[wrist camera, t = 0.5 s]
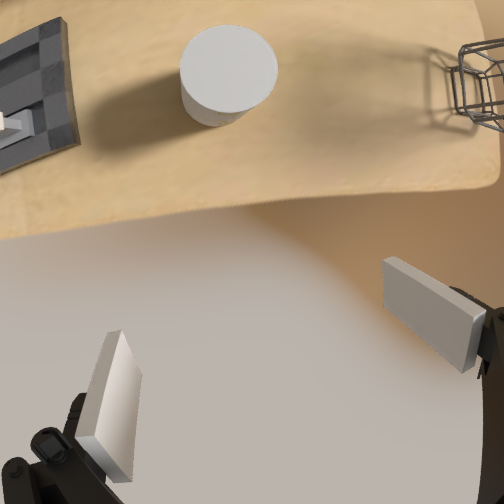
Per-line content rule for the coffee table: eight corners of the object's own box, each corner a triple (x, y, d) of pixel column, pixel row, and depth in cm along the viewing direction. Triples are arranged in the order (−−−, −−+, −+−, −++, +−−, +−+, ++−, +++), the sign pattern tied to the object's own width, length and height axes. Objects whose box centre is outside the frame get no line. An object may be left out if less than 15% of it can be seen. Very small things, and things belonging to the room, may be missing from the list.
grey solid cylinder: (209, 140, 36) (220, 132, 25) (167, 89, 33) (160, 59, 22) (264, 100, 36) (296, 78, 25) (223, 50, 33) (238, 9, 22)
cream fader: (0, 124, 28) (-31, 121, 22) (31, 110, 29) (2, 102, 22) (3, 149, 30) (-28, 150, 23) (34, 135, 30) (5, 133, 23)
